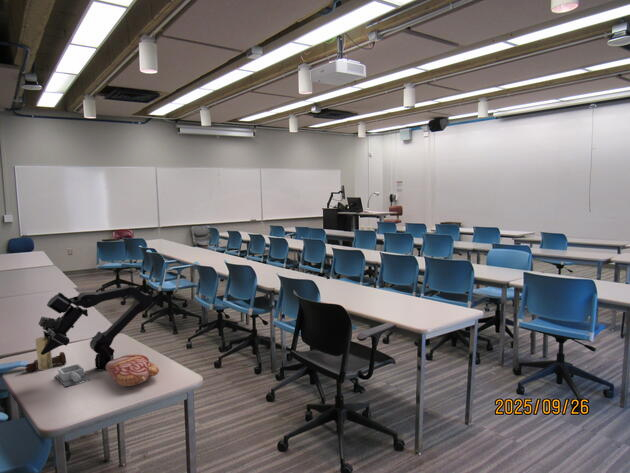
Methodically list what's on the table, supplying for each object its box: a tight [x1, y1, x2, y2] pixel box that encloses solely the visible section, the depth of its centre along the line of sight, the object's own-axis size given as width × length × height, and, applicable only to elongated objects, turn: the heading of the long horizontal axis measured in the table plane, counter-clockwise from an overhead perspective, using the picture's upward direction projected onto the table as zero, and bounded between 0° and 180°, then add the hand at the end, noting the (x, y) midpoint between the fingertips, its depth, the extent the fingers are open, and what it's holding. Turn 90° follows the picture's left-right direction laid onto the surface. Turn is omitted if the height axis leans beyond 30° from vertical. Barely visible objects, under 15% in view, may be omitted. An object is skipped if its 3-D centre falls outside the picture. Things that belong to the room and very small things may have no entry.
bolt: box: [24, 351, 67, 372], centre depth 189 cm, size 6×5×15 cm
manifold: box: [55, 363, 91, 388], centre depth 177 cm, size 9×14×4 cm, turn 44°
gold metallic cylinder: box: [35, 336, 54, 371], centre depth 171 cm, size 5×5×12 cm
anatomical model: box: [105, 353, 160, 387], centre depth 177 cm, size 17×7×30 cm
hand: (40, 352), depth 170 cm, fingers closed on gold metallic cylinder, 5 cm apart
